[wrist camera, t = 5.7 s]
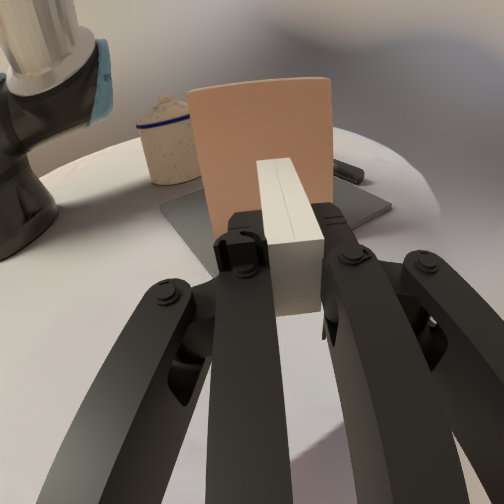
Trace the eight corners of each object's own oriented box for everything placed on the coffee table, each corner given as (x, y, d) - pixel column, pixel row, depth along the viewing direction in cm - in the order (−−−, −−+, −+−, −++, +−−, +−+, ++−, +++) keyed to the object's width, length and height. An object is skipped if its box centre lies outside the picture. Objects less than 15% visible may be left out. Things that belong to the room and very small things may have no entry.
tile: (331, 237, 23) (330, 78, 16) (216, 249, 23) (185, 92, 16) (324, 220, 25) (320, 76, 18) (219, 231, 25) (192, 89, 18)
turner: (374, 177, 33) (375, 163, 31) (341, 190, 30) (341, 175, 29) (277, 143, 47) (277, 133, 46) (247, 151, 45) (245, 140, 44)
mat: (225, 293, 20) (224, 287, 20) (160, 210, 31) (159, 205, 31) (390, 209, 26) (391, 203, 26) (291, 164, 38) (291, 160, 38)
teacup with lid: (218, 174, 38) (204, 88, 31) (151, 193, 36) (129, 106, 29) (201, 153, 47) (189, 87, 40) (148, 168, 45) (133, 101, 38)
